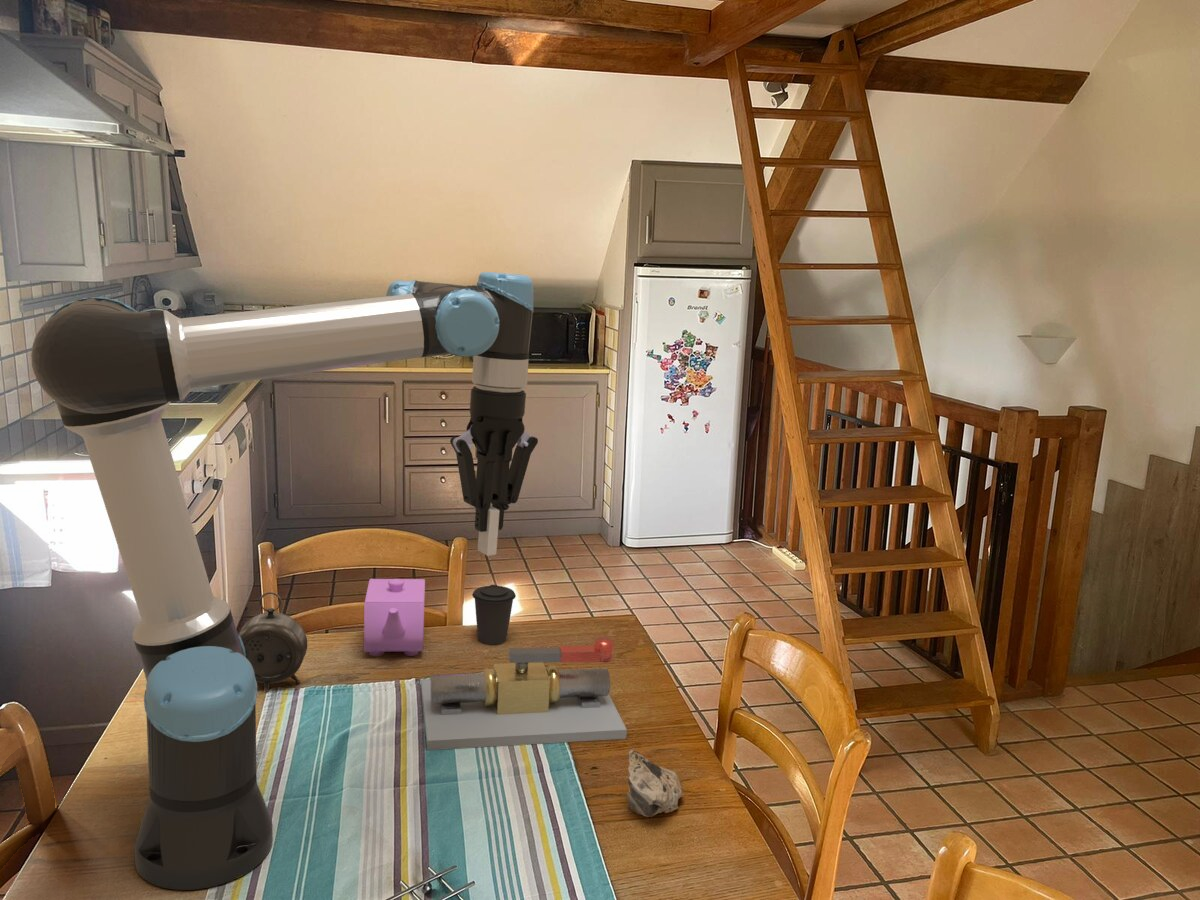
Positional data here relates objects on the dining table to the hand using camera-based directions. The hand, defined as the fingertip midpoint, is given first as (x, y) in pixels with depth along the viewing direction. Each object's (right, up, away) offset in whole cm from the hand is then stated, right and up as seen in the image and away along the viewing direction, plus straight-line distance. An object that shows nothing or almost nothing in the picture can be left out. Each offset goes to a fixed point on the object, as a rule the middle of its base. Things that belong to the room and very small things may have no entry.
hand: (486, 552), depth 135 cm
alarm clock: (-38, -24, +20) cm, 49 cm away
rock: (+23, -34, -6) cm, 42 cm away
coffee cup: (-4, -21, +44) cm, 49 cm away
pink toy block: (-21, -22, +37) cm, 48 cm away
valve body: (+3, -26, +16) cm, 31 cm away
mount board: (+3, -27, +17) cm, 32 cm away
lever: (+10, -20, +16) cm, 28 cm away
